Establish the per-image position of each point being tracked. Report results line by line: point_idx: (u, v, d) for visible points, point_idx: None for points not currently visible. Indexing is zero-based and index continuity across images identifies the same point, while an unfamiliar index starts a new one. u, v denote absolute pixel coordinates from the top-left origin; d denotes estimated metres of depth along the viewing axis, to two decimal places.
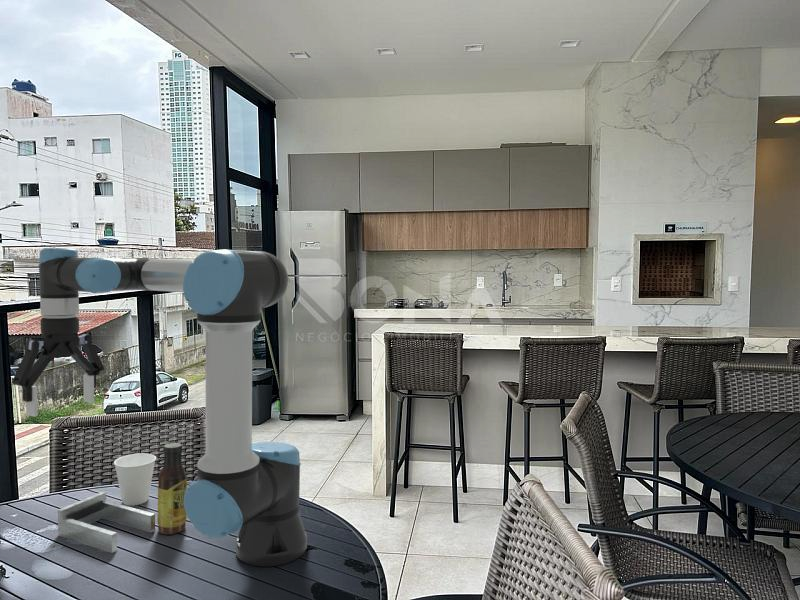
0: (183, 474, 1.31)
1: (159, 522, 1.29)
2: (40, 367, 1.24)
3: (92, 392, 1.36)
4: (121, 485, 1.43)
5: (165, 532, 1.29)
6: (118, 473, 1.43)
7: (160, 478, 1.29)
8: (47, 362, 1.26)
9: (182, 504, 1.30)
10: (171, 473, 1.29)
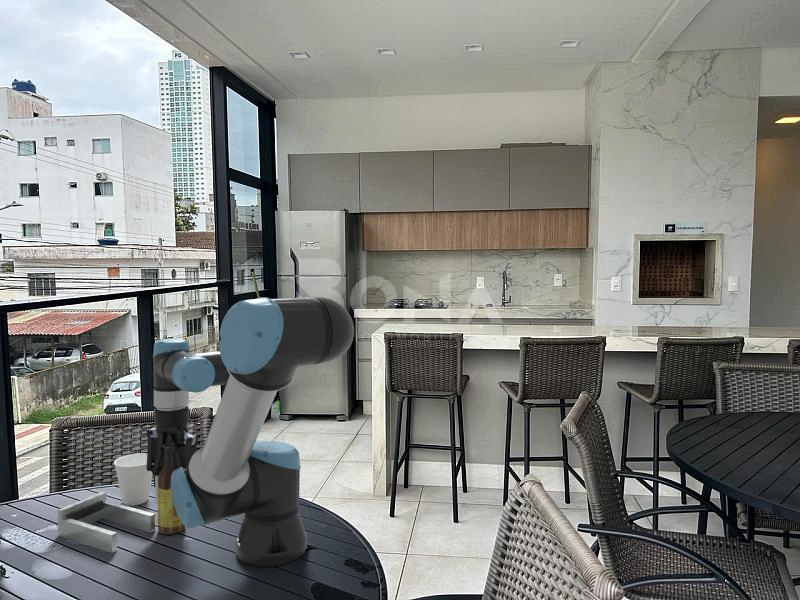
0: None
1: (159, 522, 1.29)
2: (156, 456, 1.31)
3: None
4: (121, 485, 1.43)
5: (165, 532, 1.29)
6: (118, 473, 1.43)
7: (160, 478, 1.29)
8: (160, 451, 1.31)
9: None
10: (171, 473, 1.29)
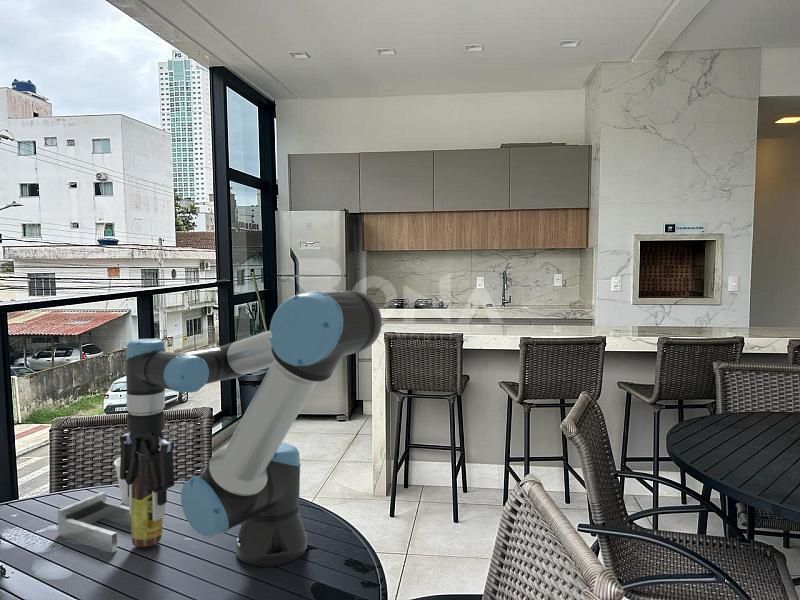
0: None
1: (133, 534, 1.22)
2: (130, 464, 1.24)
3: (153, 509, 1.21)
4: (121, 485, 1.43)
5: (139, 545, 1.21)
6: (118, 473, 1.43)
7: (134, 487, 1.22)
8: (134, 459, 1.23)
9: None
10: (145, 482, 1.22)
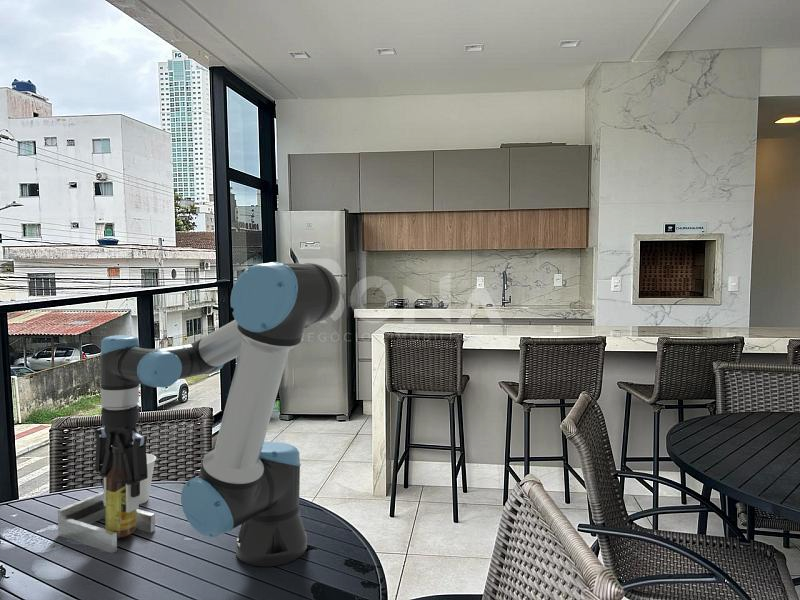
0: None
1: (107, 525, 1.25)
2: (105, 457, 1.27)
3: (127, 501, 1.25)
4: None
5: None
6: None
7: (108, 479, 1.25)
8: (108, 452, 1.26)
9: None
10: (119, 475, 1.25)
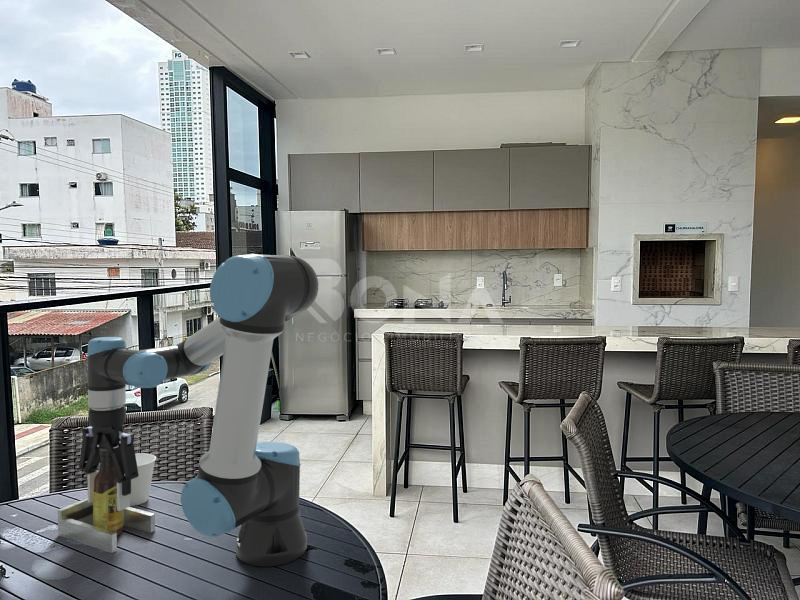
0: None
1: None
2: (90, 455, 1.29)
3: (118, 499, 1.26)
4: None
5: None
6: None
7: (95, 481, 1.27)
8: (94, 451, 1.28)
9: None
10: (106, 477, 1.27)
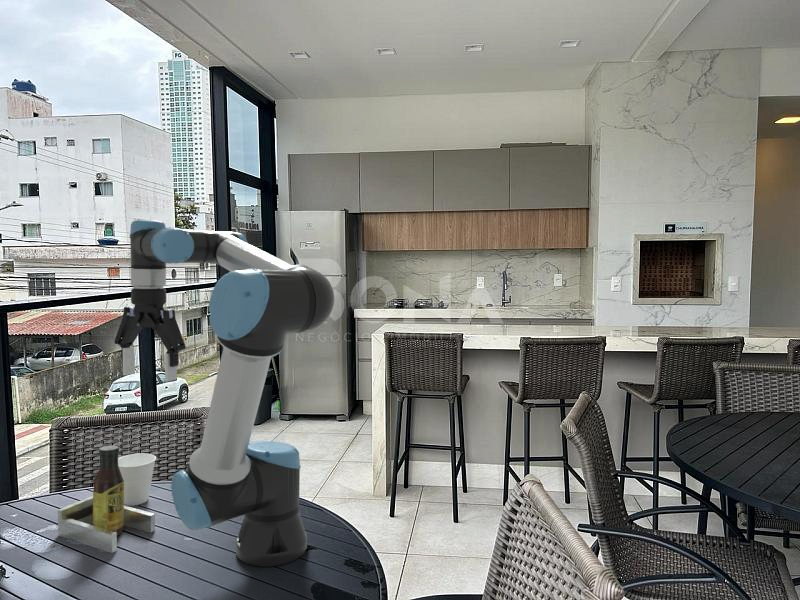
0: (119, 478, 1.28)
1: None
2: (128, 331, 1.34)
3: (166, 370, 1.30)
4: None
5: None
6: None
7: (95, 481, 1.27)
8: (132, 328, 1.34)
9: (117, 508, 1.28)
10: (106, 477, 1.27)
